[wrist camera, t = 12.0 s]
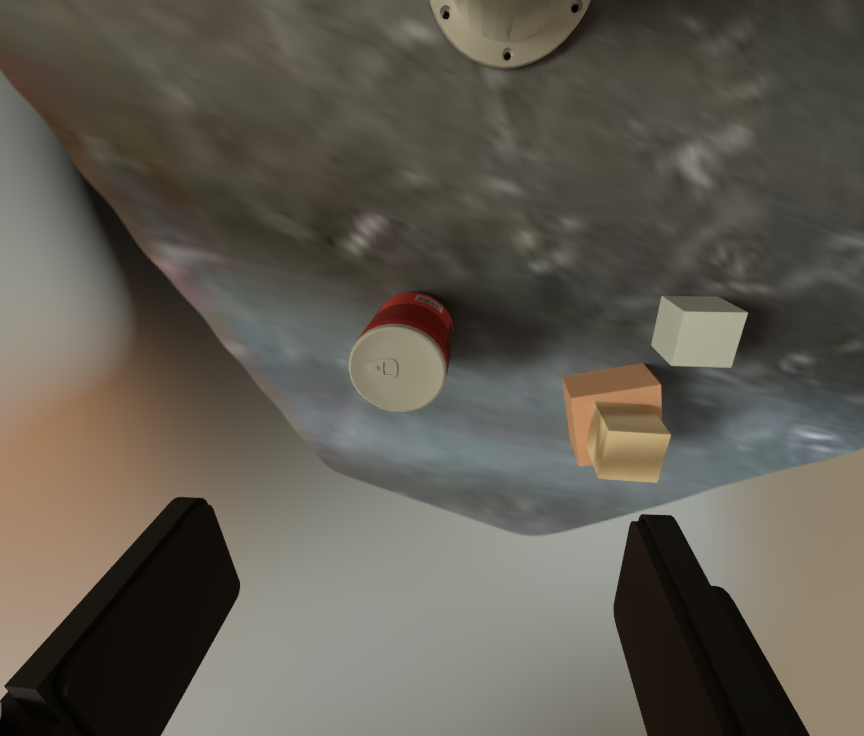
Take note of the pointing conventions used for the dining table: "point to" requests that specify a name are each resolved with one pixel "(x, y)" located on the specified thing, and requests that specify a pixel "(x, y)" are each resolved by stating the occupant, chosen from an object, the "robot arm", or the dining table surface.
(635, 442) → the maple cube
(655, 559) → the robot arm
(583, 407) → the terracotta block
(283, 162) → the dining table surface
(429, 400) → the canned food
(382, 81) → the dining table surface
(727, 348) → the pale green-grey cube
